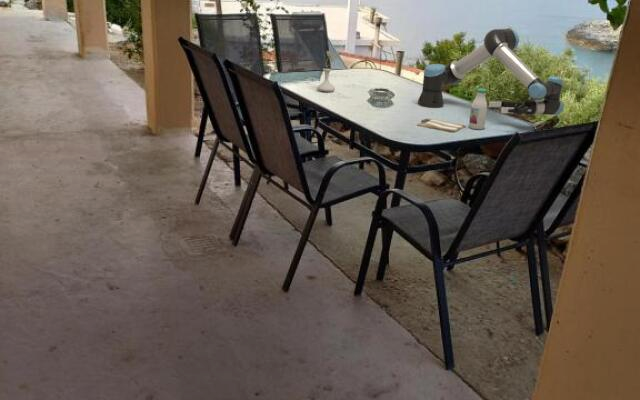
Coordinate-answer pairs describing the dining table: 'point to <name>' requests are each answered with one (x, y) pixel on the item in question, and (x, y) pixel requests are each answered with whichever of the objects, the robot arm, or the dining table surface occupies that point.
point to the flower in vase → (326, 85)
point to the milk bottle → (478, 110)
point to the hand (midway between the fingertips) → (495, 107)
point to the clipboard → (441, 125)
